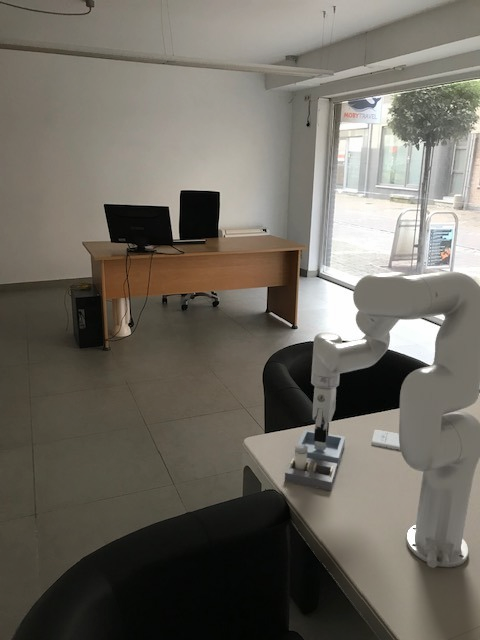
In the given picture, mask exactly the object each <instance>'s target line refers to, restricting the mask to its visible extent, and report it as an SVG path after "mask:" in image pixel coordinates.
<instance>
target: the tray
mask: <svg viewBox="0 0 480 640" xmlns="http://www.w3.org/2000/svg"><path fill="white" fill-rule="evenodd" d="M314 433H315V430H308V429H304V430H303V432H302V434H301V436H300V438H299V441H298V442H297V445H298V444H303V445H306V446H307V447H308V451H307V458H312V459H317V460H322V461H327V462H332V463H337V469H338V467H339V465H340V462H341V459H342V456H343V452H344V449H345V444H346V436H342V435H336V434H332V433H328V436H327V437H326V449H325V450H323V451H319V450H316V449H315V448H314V445H315V441H314Z"/></svg>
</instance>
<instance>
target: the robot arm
mask: <svg viewBox="0 0 480 640" xmlns="http://www.w3.org/2000/svg"><path fill="white" fill-rule="evenodd" d="M352 293H353V294H352V297H353V304H354V305H355V308H356V309H357V310H358V311H357V313H356V314H355V323H356V326H357V327H358V329H359V330H360V331H361V333H363V334H364V336H363V337H362V338H360V339H355V340H350V341H349V340H348V341H344V342H343V339H342V337H341V336H340V335H338V334H336V333H333V332H320V333H318V334H316V335H315V336H314V338H313V349H312V362H311V363H312V365H311V377H310V378H311V381H310V383H311V385H312V386H314V389H313V392H314V393H313V402H312V420H313V421H315V423H314V425H315V426H314V431H315V433H314V441H317V442H323V443H325V442H326V431H327V436H328V434H329V431H330V430H329V428H330V423H331V421H332V419H333V416H334V414H335V411H336V401H337V400H336V397H337V387H338V386H340V377H341V376H340V374H343V373H344V374H345V373H349V372H353V371H357V370H362V369H366V368H370V367H372V366H375V364H376V363H378V361H380V359H381V358H382V357H383V356H384V355H385V354H386V352H387V351H388V349H389V347H390V342H391V340H390V339H391V335H390V334H391V333H390V331H391V330H392V329H393V328H394V327H395V325H396V324H397V323H398V322H399V321H400V320H406V321H407V320H408V321H409V320H419V319H423V318H430V317H435V316H442V315H443V316H444V320H443V322H442V323H441V325H440V327H439V329H438V331H437V333H436V337H435V341H434V358H433V363H432V364H431V365H428V366H424V367H420V368H417V369H415V370H413V371H412V372H411V371H410V372H409V374H408V375H407V376H406V377H405V378H404V380H403V381H402V384H401V389H400V394H399V420H398V421H399V424H398V425H399V426H398V434H399V445H400V450H399V451H400V453H401V456H402V457H403V460H404V461H405V463H406V464H407V465H408V466H409V467H410V468H411V469H413V470H415V471H418V472H422V479H421V485H420V491H419V500H418V508H417V513H416V523H415V524H414V525H413V526H411V527H410V528H409V529H408V530H407V533H406V538H405V539H406V544H407V547H408V548H409V550H410V551H411V552H412V553H413V555H414V556H416V557H417V558H418V559H420V560H422V561H424V562H425V563H426V564H427V566H428V567H430V568H432V569H434V568H436V567H442V568H454V567H458V566H461V565H462V564H464V563H465V562H466V561H467V559H468V555H469V546H468V543H467V542H466V540H465V539H464V538H463V537H464V532H465V526H466V519H467V513H468V508H469V502H470V496H471V491H472V487H473V480H474V476H475V473H476V468H477V465H478V464H479V460H480V421H479V420H478V418H476V417H475V416H474V415H473V414H470V413H469V412H465V411H462V410H464V409H466V408H469V407H471V406H473V405H474V404H475V403H476V402H477V401H478V400H479V395H480V285H479V284H478V282H477V281H476V280H475V279H474V278H473V277H471V276H470V275H467V274H465V273H462V272H459V271H436V272H429V273H424V274H423V273H422V274H415V275H413V274H412V275H411V274H409V273H406V272H403V271H402V272H401V271H391V272H382V273H373V274H367V275H365V276H363V277H361V278H360V279H359V280H358V282H357V283H356V285H354V288H353V292H352ZM460 410H461V411H460ZM322 422H324V425H323V424H322ZM326 422H328V427H327V429H326Z"/></svg>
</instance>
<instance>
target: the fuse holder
mask: <svg viewBox="0 0 480 640" xmlns="http://www.w3.org/2000/svg"><path fill="white" fill-rule="evenodd" d="M337 471H338V468H337V463H332V462H327V461H322V460H317V459H312V458H307V461H306V471H302V470H297V469H295V454H293V455H292V457H291V459H290V462H289V463H288V465H287V468H286V470H285V472H284V481H285V482H286V483H287V482H288V483H291V484H295V485H296V484H297V485H301V486H305V487H311V488H317V489H319V490H320V489H322V490H326V491H330V492H331V491H332V490H333V489H332V487H333V486H334V482H335V479H336V476H337Z"/></svg>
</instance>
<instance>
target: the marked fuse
mask: <svg viewBox="0 0 480 640" xmlns="http://www.w3.org/2000/svg"><path fill="white" fill-rule="evenodd" d="M322 424H323V425H324V422H322ZM327 427H328V422H326V429H327ZM326 437H327V431H326ZM314 448H315V449H316V450H319V451H323V450H325V449H326V442H325V443H323V442H317V441H315V445H314Z"/></svg>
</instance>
